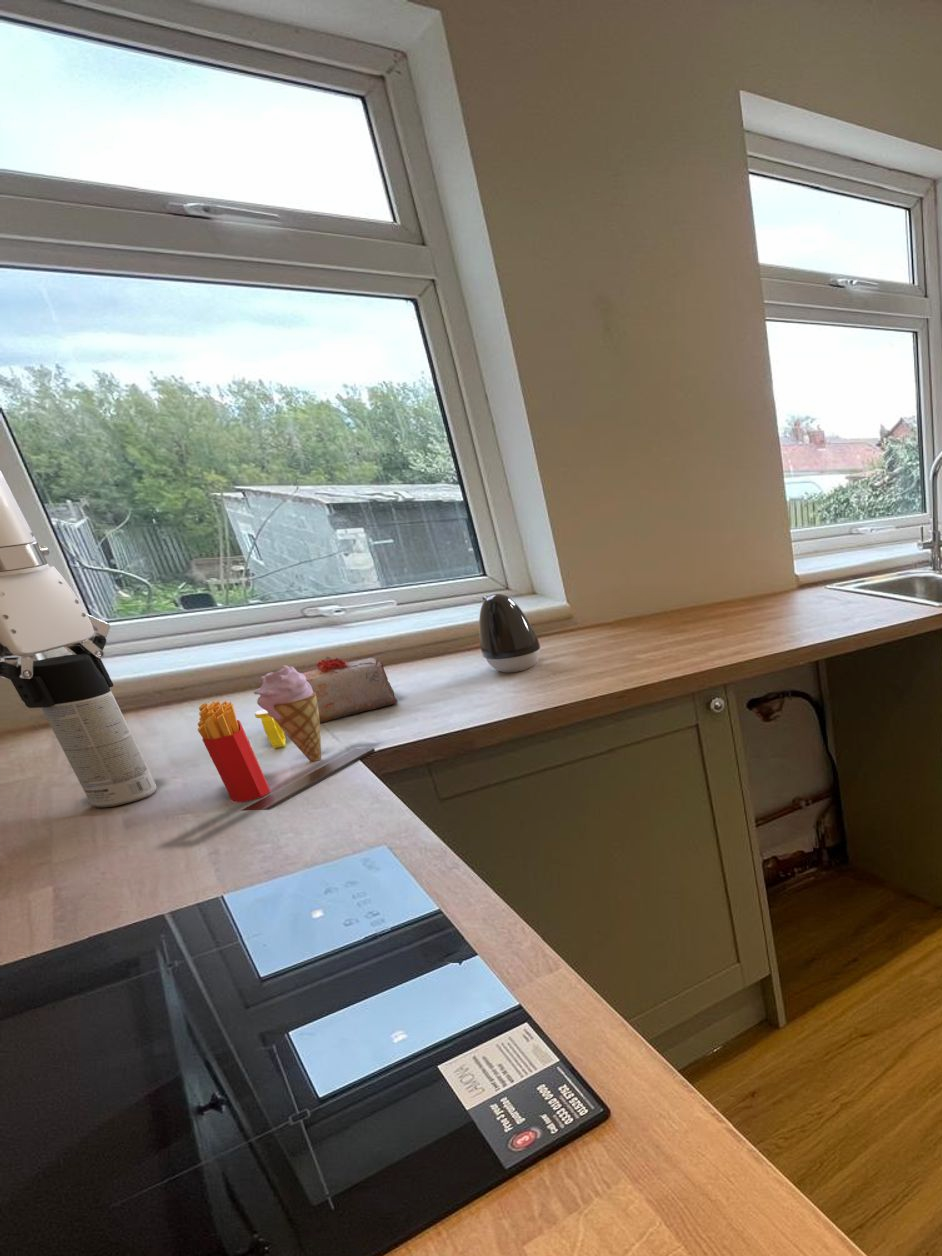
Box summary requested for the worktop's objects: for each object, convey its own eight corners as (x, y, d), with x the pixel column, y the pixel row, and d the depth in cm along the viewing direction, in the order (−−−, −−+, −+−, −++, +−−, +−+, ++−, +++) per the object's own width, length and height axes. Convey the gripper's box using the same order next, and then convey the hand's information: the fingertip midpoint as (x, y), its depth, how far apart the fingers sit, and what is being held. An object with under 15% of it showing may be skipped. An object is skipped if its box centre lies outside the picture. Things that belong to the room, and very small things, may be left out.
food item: (307, 728, 136) (284, 672, 132) (297, 718, 141) (275, 664, 137) (401, 705, 146) (382, 652, 142) (389, 696, 151) (370, 645, 147)
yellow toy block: (270, 742, 131) (255, 707, 129) (292, 737, 133) (277, 703, 130) (268, 753, 127) (252, 717, 124) (290, 748, 128) (275, 713, 126)
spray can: (159, 783, 117) (94, 650, 110) (158, 796, 113) (91, 658, 105) (93, 799, 113) (21, 661, 106) (90, 813, 109) (15, 670, 101)
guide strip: (173, 850, 98) (171, 847, 98) (356, 751, 126) (355, 748, 125) (197, 849, 98) (195, 846, 98) (375, 751, 126) (374, 748, 125)
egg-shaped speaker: (529, 658, 171) (509, 586, 165) (554, 665, 165) (534, 591, 159) (478, 671, 163) (455, 597, 157) (502, 679, 157) (479, 602, 151)
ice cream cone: (315, 769, 120) (274, 672, 114) (274, 770, 120) (231, 674, 114) (349, 751, 126) (312, 658, 120) (310, 752, 126) (271, 660, 120)
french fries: (228, 788, 115) (187, 702, 109) (267, 778, 117) (229, 694, 112) (232, 808, 108) (189, 718, 103) (273, 797, 111) (233, 708, 106)
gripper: (47, 550, 108) (111, 677, 115) (-119, 576, 92) (-32, 722, 100) (101, 548, 108) (162, 675, 115) (-56, 574, 92) (26, 719, 99)
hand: (71, 695), depth 107 cm, fingers closed on spray can, 6 cm apart
